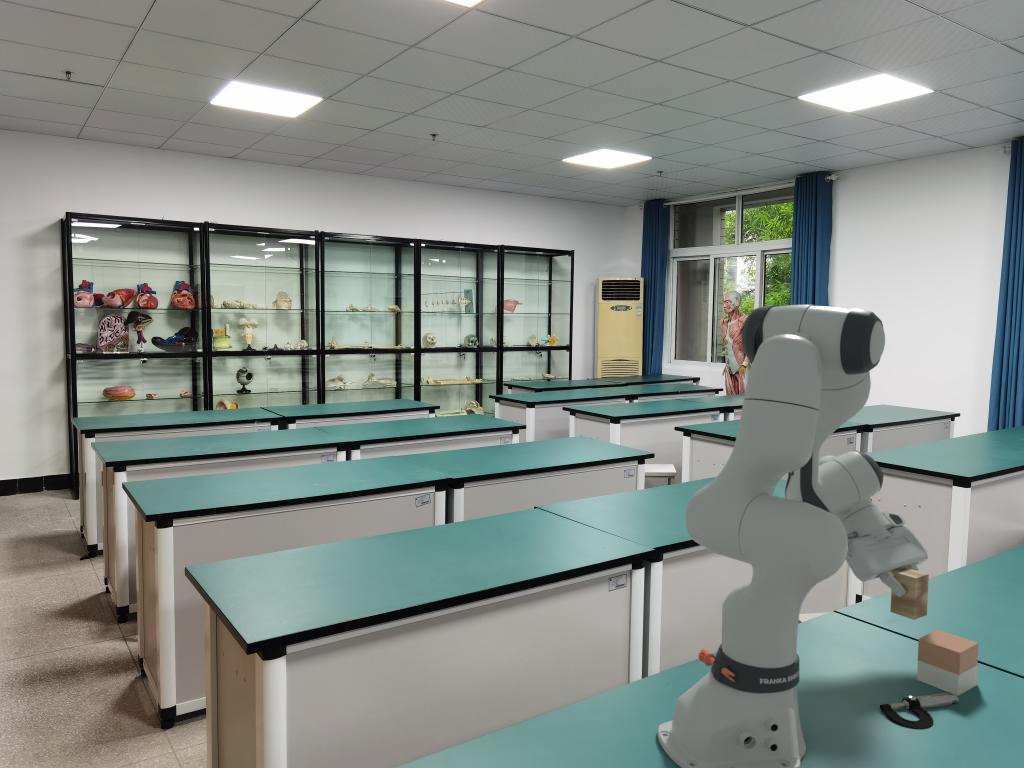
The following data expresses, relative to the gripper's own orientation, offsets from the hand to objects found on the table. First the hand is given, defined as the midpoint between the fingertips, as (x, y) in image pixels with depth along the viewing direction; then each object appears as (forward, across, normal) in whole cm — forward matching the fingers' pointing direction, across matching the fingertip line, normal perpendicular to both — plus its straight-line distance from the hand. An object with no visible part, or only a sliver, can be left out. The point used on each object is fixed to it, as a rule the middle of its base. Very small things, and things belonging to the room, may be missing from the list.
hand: (912, 591), depth 136 cm
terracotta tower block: (+13, -2, +2) cm, 13 cm away
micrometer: (+19, -16, +2) cm, 25 cm away
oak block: (+3, 0, +4) cm, 4 cm away
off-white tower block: (+15, -2, +5) cm, 16 cm away
